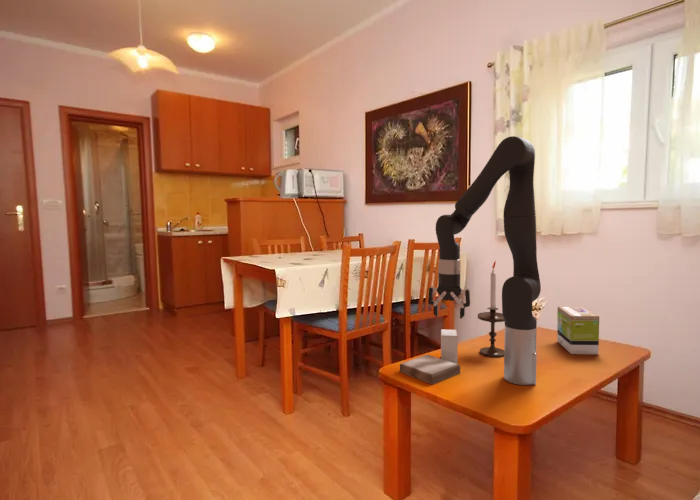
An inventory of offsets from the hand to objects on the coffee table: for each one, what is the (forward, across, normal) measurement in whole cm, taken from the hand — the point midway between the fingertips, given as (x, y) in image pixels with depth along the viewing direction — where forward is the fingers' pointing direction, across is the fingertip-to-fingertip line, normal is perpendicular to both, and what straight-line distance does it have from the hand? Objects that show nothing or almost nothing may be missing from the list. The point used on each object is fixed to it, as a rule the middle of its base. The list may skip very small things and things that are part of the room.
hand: (448, 317), depth 148 cm
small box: (+16, 0, 0) cm, 16 cm away
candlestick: (+16, -14, -13) cm, 25 cm away
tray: (+16, +4, +13) cm, 21 cm away
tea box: (+16, -44, -29) cm, 55 cm away
